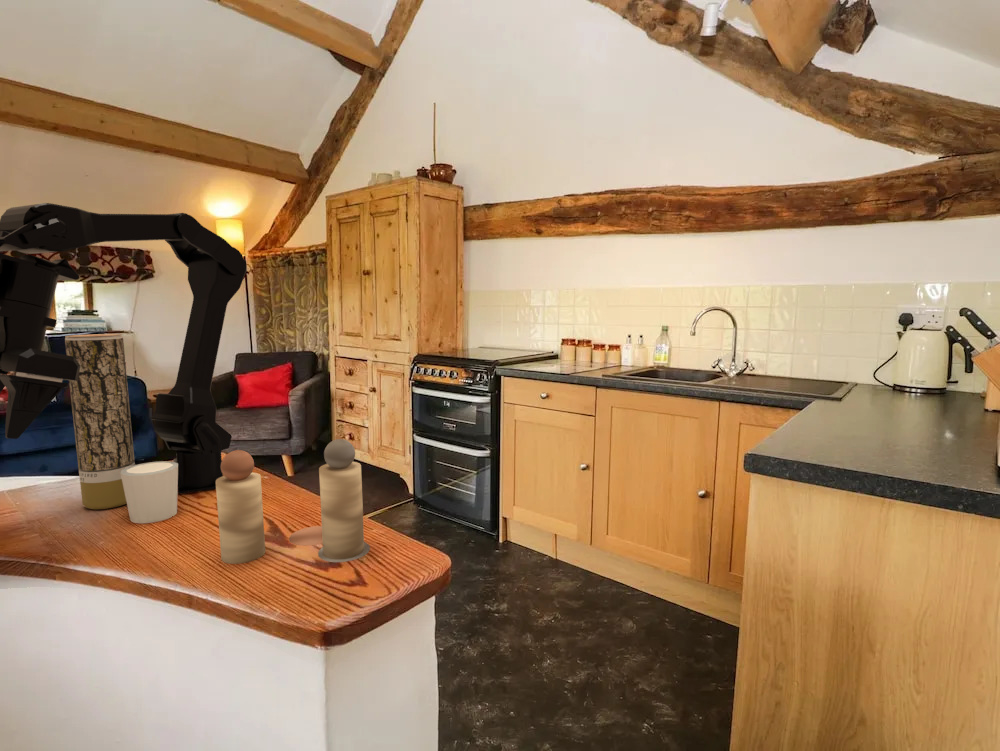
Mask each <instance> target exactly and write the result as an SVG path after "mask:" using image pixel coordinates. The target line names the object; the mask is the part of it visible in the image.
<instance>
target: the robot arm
mask: <svg viewBox="0 0 1000 751" xmlns="http://www.w3.org/2000/svg"><path fill="white" fill-rule="evenodd" d="M141 241H147V242H149V241H165V243H167V244H168V245H169V246H170V247H171V249H172V251H173V254H175V257H176V258H177V259H178V260H179V261H180V262H181V263H182V264H184V265H185V266H186V267H187V282H188V285H189V288H190V290H191V292H192V297H193V298H192V302H191V303H192V304H191V310H190V314H189V319H188V323H187V328H186V333H185V338H184V343H183V346H182V347H183V348H182V350H181V351H182V352H181V356H180V361H179V367H178V371H177V375H176V381H175V384H174V386H172V388H171V389H170V390H169V392H168V393H158V394H157V395H156V398H155V410H154V413H153V414H152V416H151V417H150V420H154V422H153V423H154V426H153V429H154V431H155V433H157V435H158V437H159V438H160V439H162V440H163V441H164V443H165V446H166V447H167V450H169V451H170V450H172V451H173V450H175V451H176V458H174V459H173V460H172V462H176V463H178V491H177V495H182V494H189V493H195V492H196V493H197V492H204V491H209V490H216V480H217V479H218V478H220V477H222V476H224V475H223V473H222V471H221V462H222V459H223V458H222V452H223V451H224V450H227V449H229V448H230V447H231V446H230V445H231V441H232V434H231V433H229V431H227V430H226V429H225V428H223V427H222V426H221V425H220V424H219V423H217V406H216V403H215V400H214V397H213V394H212V391H211V388H212V382H213V378H214V374H215V373H214V372H215V367H216V362H217V358H218V357H217V356H218V353H219V348H220V347H219V346H220V342H221V336H222V331H223V326H224V321H225V318H226V317H225V316H226V312H227V306H228V304H229V302H230V301H231V300H232V298H233V297H234V296H235V295H236V293H238V292H239V290H240V289H241V286H242V284H243V281H244V277H245V275H246V273H247V260H246V259H245V258H244V255H243V254H242V253H241V251H240V250H238V249H237V248H236V247H234V246H232V245H231V244H230V243H229V242H228V241H227V240H226V239H224V238H223V237H222V236H220V235H219V234H216V233H215V232H213V231H211V230H210V229H208V228H206V227H205V226H204V225H202V224H201V223H200V222H199V221H198V220H197V219H196V218H195V217H193V216H192V215H190V214H188V213H185V212H175V213H168V214H167V213H166V214H165V213H164V214H163V213H162V214H161V213H158V214H157V213H149V214H147V213H97V212H91V211H87V210H84V209H81V208H77V207H74V206H67V205H63V204H58V203H57V204H55V203H51V202H41V203H36V204H29V205H22V206H21V205H20V206H13V207H10V208H8V209H5V212H3V213H2V215H1V216H0V394H1V393H2V392H3V390H4V388H6V389H7V391H8V392H7V404H6V413H5V414H6V416H5V425H4V426H5V428H4V429H5V434H4V437H5V438H6V439H10V440H12V439H13V440H18V439H19V438H20V437H21V436H22V435H23V433H25V431H26V430H27V429H28V427H29V426H30V425H31V424H32V423H33V422H34V421H35V419H36V418H37V417H38V416H39V415H40V414H41V413H42V412H43V411H44V410H45V408H46V407H47V406H49V404H50V403H52V401H53V400H54V399H55V398H56V397H57V396H58V395H59V394H60V393H61V392H62V390H63V389H65V388H66V389H67V388H69V387H70V384H69V382H68V383H67V382H63V381H69V380H72V381H77V380H78V375H79V371H80V364H79V363H78V361H77V360H76V359H75V357H74V356H68V355H66V354H61V353H57V352H51V351H46V350H43V344H44V342H45V337H46V333H47V329H48V328H53V329H56V325H57V321H58V320H57V319H55V318H51V317H50V315H51V311H52V306H53V302H54V297H55V293H56V289H57V285H58V281H78V280H79V279H80V275H79V274H78V273H77V271H76V270H75V269H74V268H73V267H72V266H71V265H70V263H69V260H68V259H66V258H61V259H59V258H58V259H57V258H56V259H54V260H53V261H51V260H48V259H45V258H41V257H40V256H39V257H38V256H35V255H32V254H49V253H58V252H59V253H60V252H61V253H62V252H67V251H70V250H75V249H79V248H84V247H87V246H88V247H89V246H92V245H94V244H95V245H96V244H99V243H111V242H112V243H113V242H114V243H115V242H141ZM7 251H8V252H9V251H10V252H11V251H17V252H19V253H22V254H24V255H22V256H20V257H19V258H18V257H15V256H12V255H8V254H5V253H3V252H7ZM1 252H2V253H1ZM9 373H15V375H13V374H12V375H11V374H9Z"/></svg>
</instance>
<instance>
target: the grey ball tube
mask: <svg viewBox="0 0 1000 751" xmlns="http://www.w3.org/2000/svg"><path fill="white" fill-rule="evenodd" d="M323 457H324V462H326V463H325V464H322V465H321V466H320V467H318V474H319V475H318V476H319V477H318V478H319V493H320V496H319V497H320V516H321V526H322V540H323V544H322V547H323V555H324V556H325V557H327V558H329V559H336V560H340V559H348V558H352V557H355V556H357V555H359V554H361V553H362V552H363V551H364V542H365V535H364V534H365V533H364V532H365V530H364V509H363V508H364V506H363V481H362V480H363V479H362V465H361V463H359V462H357V461H354V460H355V457H356V450H355V447H354V446H353V444H352V443H351V442H350V441H349V440H347V439H343V438H337V439H334V440H332V441H330V442H329V443H328V444H327V445H326V447H325V448H324V451H323Z"/></svg>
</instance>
